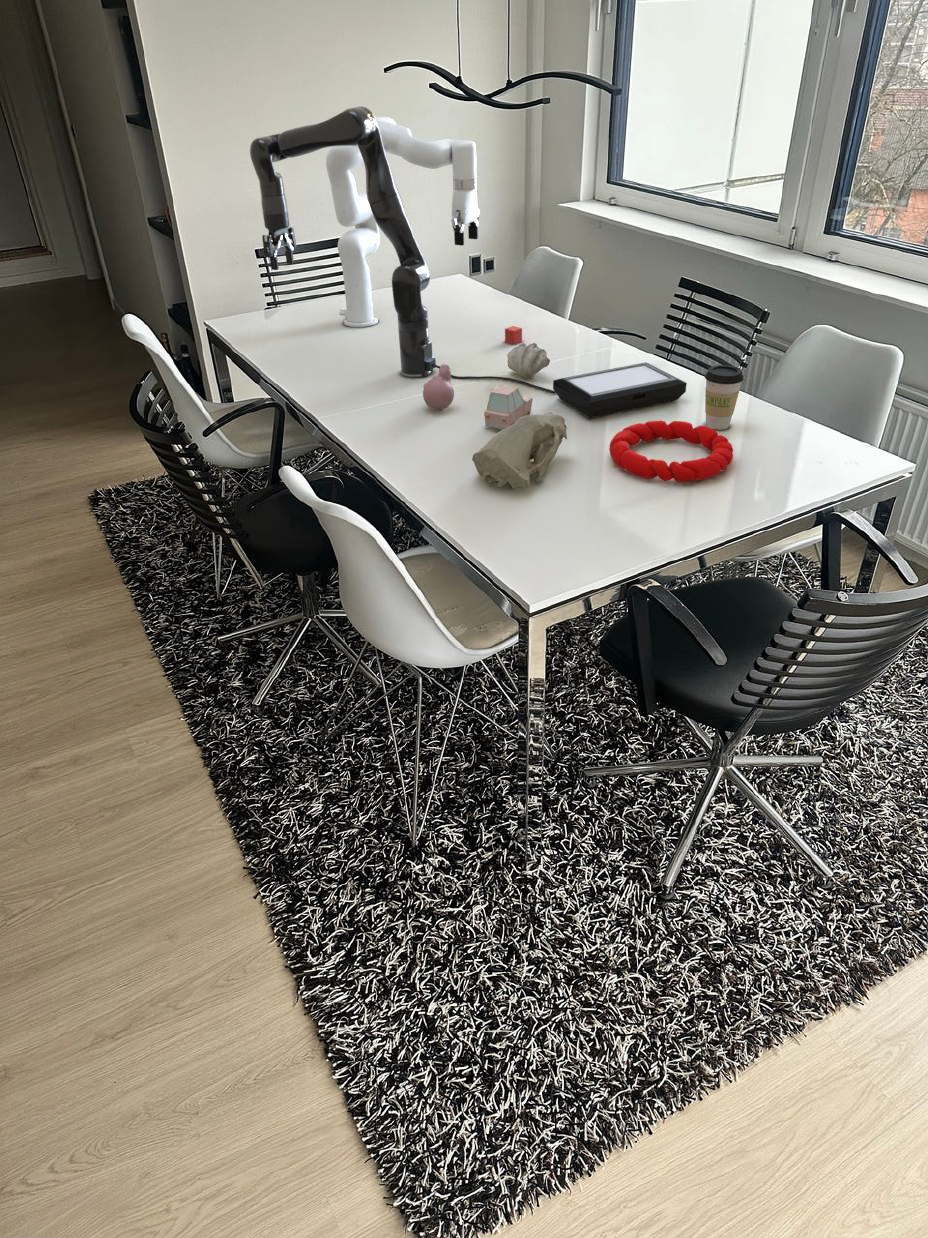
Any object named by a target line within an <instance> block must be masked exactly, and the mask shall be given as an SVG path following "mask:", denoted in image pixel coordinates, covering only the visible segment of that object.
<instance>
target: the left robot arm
mask: <svg viewBox="0 0 928 1238" xmlns="http://www.w3.org/2000/svg"><path fill="white" fill-rule="evenodd" d="M375 118H376V121H377V124H378V127H379V131H380V135H381V139H382V143H383V147H384V151H385V153H388V154H391V155H393V156H394V155H395V156H399V157H401V158H402V159H403V160H405V161H406V162H407V163H410V164H412V165H415V166H418V167H423V168H426V169H431V170H436V169H439V168H442V167H447V166H451V165H452V199H451V200H452V201H451V219H450V221H451V224H452V225H451V227H452V232H453V233H454V234H453V235H454V238H453V239H454V245H455V246H462V247H463V246H464V245H465V233H464V227H465V226H466V225H468V226H467V229H468V233H467V235H468V239H469V240H478V239H479V232H478V231H479V230H478V227H479V219H480V217H479V216H480V209H479V207H478V205H479V204H478V193H477V190H478V183H477V182H478V180H477V174H478V173H477V145H476V142H474V141H472V140H470V139H469V140H468V139H465V140H458V139H457V140H456V139H453V138H442V139H438V140H433V141H428V140H424V139H421V138H418V137H414V136H413V134H412V131H411V129H410V128H409V127H407V126H404V125H400V124H397V123H396V121H395V120H394V119H393V118H392V117H389V116H378V117H375ZM362 166H365V165H364V161H363V158H362V156H361V153H360V150H359V148H358V146H331V147H329V150H328V151H327V153H326V157H325V168H326V172H327V173H326V174H327V177H328V179H329V184H330V189H331V195H332V201H333V206H334V212H335V216H336V220H337V222H338V224H340V226H342V227H345V228H350V227H354V228H353V229H351V230H348V231H346V232H344V233H342V235H341V236H340V237H339V238H338V241H337V250H338V251H337V252H338V257H339V259H340V263H341V268H342V277H343V285H344V296H345V305H346V306H345V308H342V307H341V308H340V309H339V313H338V314H339V316H344V319H343V324H344V325H345V326H347V327H351V328H366V327H371V326H374V325H376V324H378V322H379V317H377V316H376V315H374V306H373V305H374V304H373V295H372V281H371V272H370V268H369V265H368V263H367V262H368V261H367V260H366V257H368V256H370V255H373V254H375V253H376V252H377V251H378V249H379V248H380V244H381V236H380V228H379V226H378V225H377V223H376V221H375V219H374V216H373V214H372V211H371V208H370V205H369V203H368V199H367V193H364V192H358V190H357V183H356V180H355V178H354V175H353V173H352V172H351V169H353V168H357V167H362Z"/></svg>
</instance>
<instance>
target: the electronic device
mask: <svg viewBox="0 0 928 1238" xmlns="http://www.w3.org/2000/svg"><path fill="white" fill-rule="evenodd" d="M552 382H553V383H552V390H553V391H555V392H556V393H555V395H557V397H558V398H559V399H560V400H561V401H562V402H564V403H565V404H567V405H568V406H570V407H572V408H574V409H575V410H577V411H579V412H580V413H581V414H583V415H585V416H586V417H588V418H589V419H592V418H597V417H602V416H606V415H611V414H616V413H622V412H627V411H631V410H636V409H641V408H646V407H651V406H655V405H660V404H661V405H662V404H666V403H669V402H675V401H678V400H679V399H680V398H681V397H682V396H683V395H684V394H685V393H686V392H687V386H688V385H687V384H688V383H687V381H686V382H685V381H684V380H682V379H680V378H678V377H676V376H674V375H672V374H670V373H668V372H666V371H664V370H662V369H660V368H658V367H657V366H655V365H653V364H650V363H649V362H640V363H635V364H631V365H624V366H619V367H615V368H608V369H604V370H598V371H593V372H592V371H591V372H588V373H587V372H586V373H583V374H577V375H572V376H567V377H560V378H556V379H553V381H552Z"/></svg>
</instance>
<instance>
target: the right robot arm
mask: <svg viewBox="0 0 928 1238" xmlns="http://www.w3.org/2000/svg"><path fill="white" fill-rule="evenodd" d="M376 118H377V117H376V116H375V114H374V113H373V111H372V110H371V109H369V108H368V107H366V106H361V105H360V106H354V107H351V108H346V109H345V110H343V111H341V112H340V113H338V114H336V115H335V116H334V115H333V116H332V117H330V118H328V119H326V120H324V121H322V122H319V123H313V124H308V125H307V124H306V125H301V126H299V127H295V128H291V129H287V130H284V131H282V132H280V133H275V134H270V135H266V136H261V137H257V138H254V139H253V140H252V141H251V143H250V146H249V155H250V160H251V163H252V166H253V168H254V171H255V174H256V176H257V179H258V181H259V182H258V183H259V189H260V191H259V192H260V198H261V201H260V202H261V209H262V210H261V211H262V215H263V224H264V228H265V229H266V230H267V231H268V234H262V237H261V238H262V249H263V255H264V257H268V258H269V263H270V268H271V270H272V271H278V270H279V262H278V257H277V256H278V253H279V251H280V250H281V248H283V249H284V250H285V251H284V253H285V261H286V264H288V265H290V264H291V265H293V264H294V263H295V262H294V253H293V252H294V248H296V247H297V241H296V235H295V234H296V233H295V229H294V227H292V226H290V218H289V210H288V204H287V202H288V201H287V198H286V194H285V187H284V180H283V179H284V178H283V176H282V174H281V173H280V172H277V171H276V170H275V168H274V165H273V163H278V162H280V161H284V160H287V159H290V158H296V157H302V156H305V155H309V154H311V153H314V152H317V151H319V150H322V149H325V148H331V147H332V146H358V148H359V150H360V153H361V156H362V158H363V161H364V165H363V166H364V169H365V170H364V171H365V190H366V191H365V192H366V193H365V194H366V195H367V199H368V203H369V205H370V208H371V211H372V214H373V216H374V219H375V221H376V223H377V225H378V228H379V230H381V232H382V233H383V235H384V236H385V237H386V238H387V239H388V241H389V242H390V243H391V244H392V246H393V248H394V250H395V253H396V256H397V258H398V262H399V265H397V267H395V269H394V270H393V272H392V276H391V291H392V300H393V306H394V309H395V312H396V315H397V328H398V329H397V330H398V343H399V358H400V374H401V375H402V376H404V377H406V378H426V377H428V376H429V375H430V374H431V373H433V372H434V369H435V368H436V369H438V370H439V369H440V366H441V365H437V364H436V363H437V362H436V361H437V360H436V357H434V356H433V342H432V341H431V340H430V332H429V331H430V330H429V314H428V308H427V306H426V305H424V304H423V303H422V295H421V293H422V291H425V290H426V289H427V288H428V286H429V284H430V280H431V275H430V270H429V267H428V265H427V262H426V260H425V258H424V256H423V254H422V252H421V249H420V247H419V245H418V242H417V241H416V238H415V235H414V233H413V230H412V227H411V224H410V221H409V218H408V216H407V213H406V210H405V207H404V203H403V200H402V198H401V194H400V192H399V189H398V187H397V184H396V181H395V179H394V175H393V171H392V170H391V167H390V164H389V161H388V157H387V155H386V152H385V151H384V147H383V143H382V139H381V135H380V131H379V127H378V124H377V121H376ZM452 378H453V379H456V380H457V379H458V380H488V379H489V380H503V381H510V382H515V383H520V384H523V385H526V386H528V387H531V388H534V389H538V390H541V391H545V392H548V393H550V394H554V395H556V392H555V391H554V390H553V389H549V388H546V387H543V386H539V385H536V384H533V383H531V382H528V381H524V380H520V379H516V378H513V377H504V376H494V375H493V376H492V375H487V376H482V375H481V376H472V375H471V376H468V375H467V376H458V375H454V374H451V379H452Z"/></svg>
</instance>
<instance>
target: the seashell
mask: <svg viewBox="0 0 928 1238" xmlns="http://www.w3.org/2000/svg"><path fill="white" fill-rule="evenodd" d="M506 356H507V367H508V369H510V370H511V371H513V372H515V373H517V374H518V375H519V376H521V377H522V378H526V379H531V378H534V376H536V375H537V374H538V373H539V372H540V371H541V370H543V369H544V368H547V367H548V366H549V365H550V363H551V360H550V358H549V357H548V352H547V350H545V348H544V349H543V348H541V347H540V346H539V345H538V344H537V343H536V342H533V343H530V344H526V343H521V344H519V345H518V346H515V347H513V348H511V350H510V351H508V353H507V355H506Z"/></svg>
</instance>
